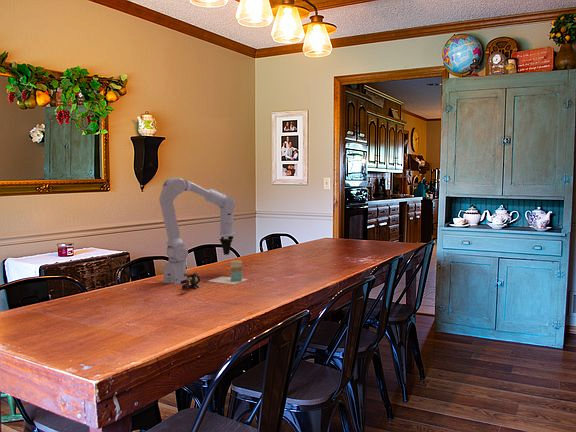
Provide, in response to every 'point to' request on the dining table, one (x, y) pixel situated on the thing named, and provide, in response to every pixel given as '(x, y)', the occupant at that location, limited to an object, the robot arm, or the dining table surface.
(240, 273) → the teal block
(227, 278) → the plate
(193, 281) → the toy
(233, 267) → the maple block
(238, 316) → the dining table surface
